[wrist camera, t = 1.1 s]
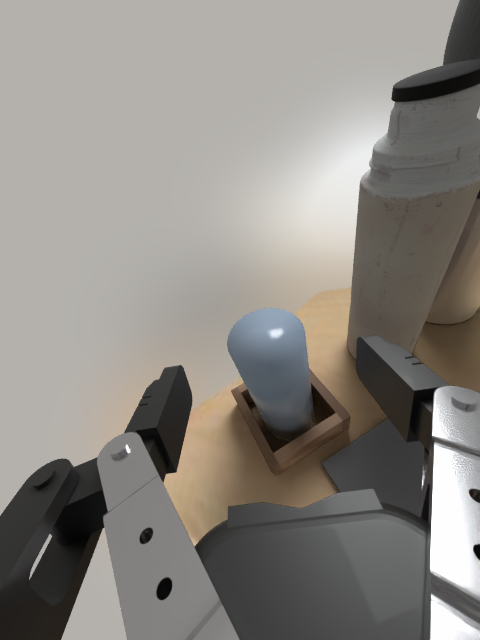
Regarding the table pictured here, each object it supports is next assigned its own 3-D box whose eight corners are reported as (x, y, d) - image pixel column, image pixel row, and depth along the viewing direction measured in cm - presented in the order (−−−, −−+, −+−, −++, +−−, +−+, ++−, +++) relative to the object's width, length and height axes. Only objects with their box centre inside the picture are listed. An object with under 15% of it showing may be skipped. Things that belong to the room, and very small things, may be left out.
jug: (283, 367, 36) (262, 283, 24) (325, 422, 29) (322, 341, 18) (245, 389, 35) (206, 313, 24) (280, 451, 28) (248, 385, 17)
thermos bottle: (392, 318, 36) (465, 48, 17) (425, 362, 31) (591, 33, 11) (338, 331, 37) (348, 90, 18) (361, 375, 32) (410, 95, 12)
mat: (393, 416, 28) (394, 413, 27) (496, 516, 20) (499, 515, 20) (321, 464, 26) (321, 462, 26) (404, 589, 19) (405, 590, 19)
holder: (298, 366, 35) (295, 352, 33) (348, 427, 28) (350, 415, 26) (237, 402, 34) (230, 390, 31) (275, 475, 27) (269, 468, 24)
